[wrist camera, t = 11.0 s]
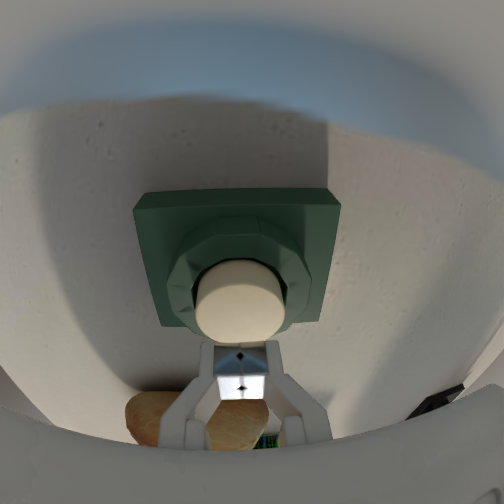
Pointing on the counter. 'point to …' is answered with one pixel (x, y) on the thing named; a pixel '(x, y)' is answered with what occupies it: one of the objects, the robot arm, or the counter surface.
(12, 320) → the counter surface
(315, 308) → the control block
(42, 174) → the counter surface
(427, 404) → the bracket
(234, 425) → the bread roll
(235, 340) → the button
